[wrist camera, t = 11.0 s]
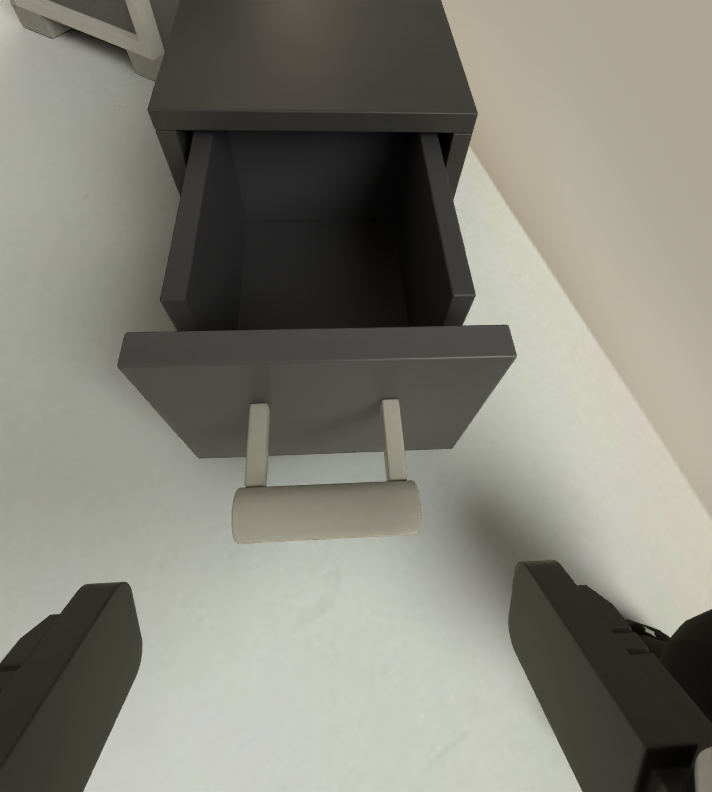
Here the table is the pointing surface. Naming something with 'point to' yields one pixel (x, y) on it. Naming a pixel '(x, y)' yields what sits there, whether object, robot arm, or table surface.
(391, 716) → the table surface
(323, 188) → the open grey drawer
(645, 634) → the gumball machine
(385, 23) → the grey drawer cabinet
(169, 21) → the alarm clock
